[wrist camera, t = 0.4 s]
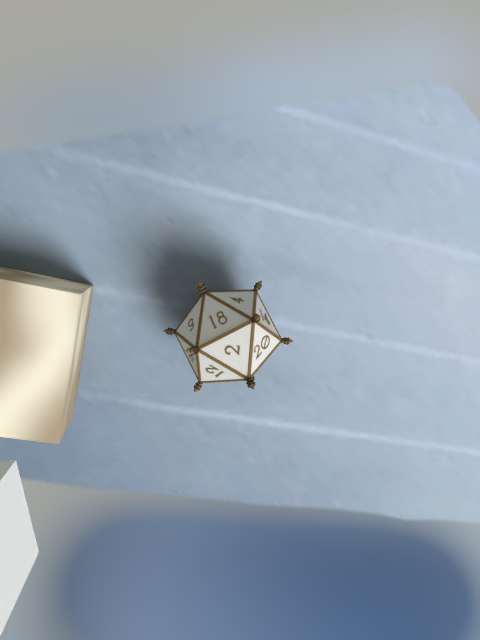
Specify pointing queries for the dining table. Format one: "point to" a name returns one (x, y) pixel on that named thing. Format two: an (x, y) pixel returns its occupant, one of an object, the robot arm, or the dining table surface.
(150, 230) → the dining table surface
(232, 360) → the game die
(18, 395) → the birch base
